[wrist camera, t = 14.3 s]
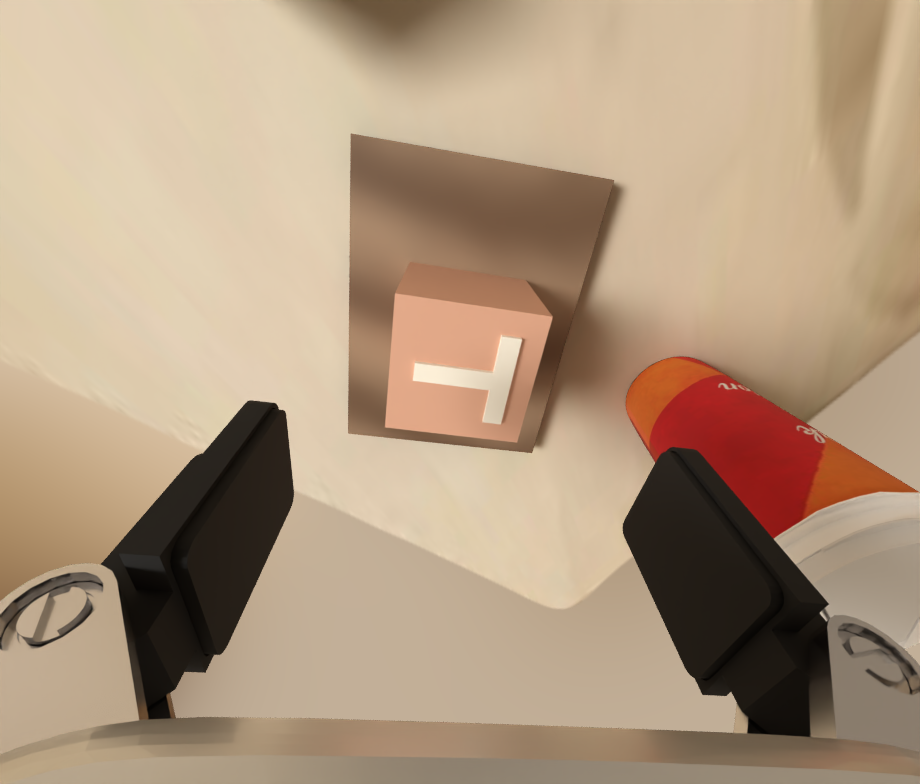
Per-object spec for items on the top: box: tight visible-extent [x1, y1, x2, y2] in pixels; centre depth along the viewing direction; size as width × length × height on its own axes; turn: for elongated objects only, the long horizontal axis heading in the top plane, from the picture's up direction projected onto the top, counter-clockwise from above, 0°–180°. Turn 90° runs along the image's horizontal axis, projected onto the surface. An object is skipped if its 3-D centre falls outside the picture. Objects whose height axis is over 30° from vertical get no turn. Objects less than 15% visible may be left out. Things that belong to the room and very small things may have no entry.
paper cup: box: [626, 357, 920, 649], centre depth 19 cm, size 8×8×14 cm
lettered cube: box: [385, 262, 553, 443], centre depth 18 cm, size 6×6×6 cm
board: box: [348, 134, 614, 453], centre depth 21 cm, size 16×12×1 cm
